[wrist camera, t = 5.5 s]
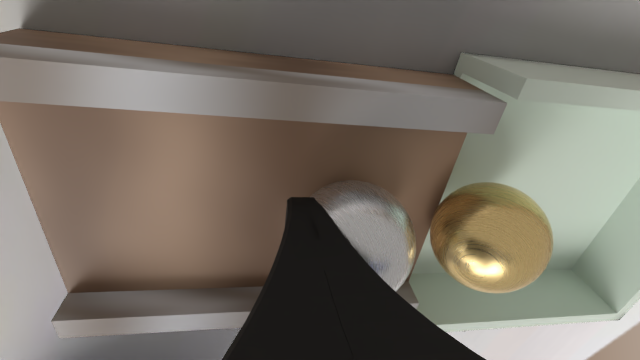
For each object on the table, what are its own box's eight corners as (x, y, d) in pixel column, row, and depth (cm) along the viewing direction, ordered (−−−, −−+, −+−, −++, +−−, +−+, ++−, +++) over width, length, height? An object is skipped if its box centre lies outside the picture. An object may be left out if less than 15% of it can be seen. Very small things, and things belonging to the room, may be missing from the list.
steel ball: (338, 361, 9) (431, 295, 11) (343, 261, 7) (457, 200, 9) (273, 272, 12) (356, 231, 14) (262, 181, 10) (362, 147, 12)
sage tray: (385, 275, 18) (410, 334, 15) (461, 52, 12) (527, 78, 9) (567, 269, 20) (619, 319, 17) (706, 82, 14) (821, 110, 11)
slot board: (96, 271, 15) (59, 338, 12) (19, 28, 9) (-77, 50, 7) (389, 264, 17) (412, 317, 15) (453, 74, 12) (507, 103, 10)
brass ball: (518, 339, 11) (528, 265, 14) (580, 253, 9) (575, 187, 12) (404, 281, 13) (434, 226, 15) (431, 197, 10) (460, 151, 13)
